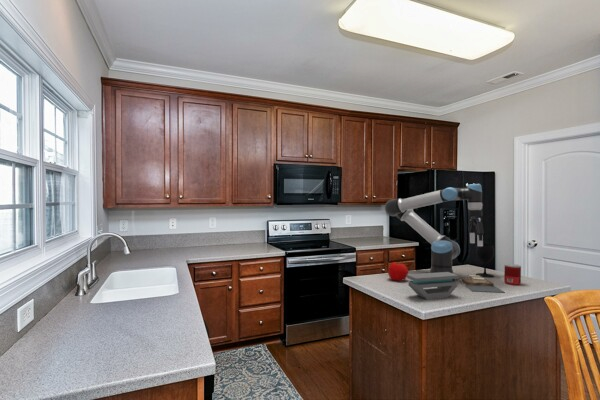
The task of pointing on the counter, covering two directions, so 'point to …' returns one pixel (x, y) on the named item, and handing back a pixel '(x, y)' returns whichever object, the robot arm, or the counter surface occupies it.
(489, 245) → the wine glass
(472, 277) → the birch tile
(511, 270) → the canned food
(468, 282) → the walnut deck
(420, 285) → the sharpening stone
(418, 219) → the robot arm
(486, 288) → the rubber mat
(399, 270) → the tomato
